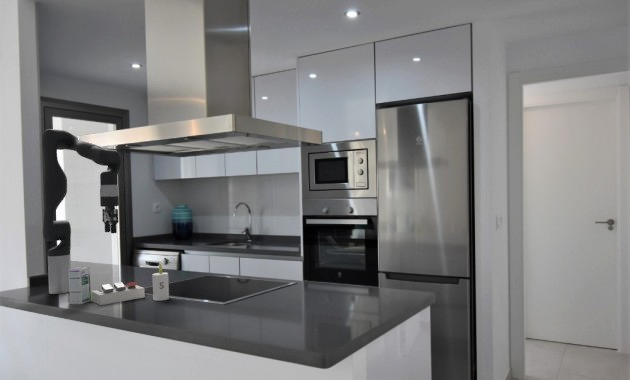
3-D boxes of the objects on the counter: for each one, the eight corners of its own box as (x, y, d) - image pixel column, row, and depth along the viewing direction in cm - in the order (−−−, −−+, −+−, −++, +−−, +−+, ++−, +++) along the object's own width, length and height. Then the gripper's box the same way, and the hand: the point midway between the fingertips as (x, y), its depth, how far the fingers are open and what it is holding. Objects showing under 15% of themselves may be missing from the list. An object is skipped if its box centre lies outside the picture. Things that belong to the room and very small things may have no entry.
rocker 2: (113, 286, 200) (113, 283, 200) (121, 285, 203) (121, 281, 202) (117, 290, 197) (118, 287, 197) (125, 289, 199) (125, 286, 199)
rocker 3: (126, 287, 204) (125, 284, 204) (133, 286, 206) (133, 283, 206) (130, 286, 200) (129, 282, 200) (137, 284, 202) (137, 281, 202)
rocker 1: (101, 288, 197) (101, 285, 197) (109, 287, 199) (109, 283, 199) (105, 293, 194) (105, 289, 193) (113, 291, 196) (113, 288, 195)
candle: (154, 301, 194) (153, 264, 194) (152, 298, 200) (151, 262, 200) (170, 299, 197) (168, 263, 197) (167, 296, 203) (166, 261, 203)
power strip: (91, 300, 200) (90, 289, 200) (147, 291, 216) (146, 280, 216) (100, 305, 191) (100, 293, 191) (158, 294, 207) (157, 284, 207)
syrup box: (82, 304, 193) (80, 268, 193) (69, 304, 195) (68, 268, 195) (91, 301, 199) (90, 266, 199) (78, 301, 200) (77, 266, 200)
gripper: (95, 195, 209) (96, 232, 210) (105, 195, 199) (106, 234, 199) (113, 195, 214) (114, 231, 214) (123, 195, 203) (124, 232, 203)
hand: (110, 232), depth 207 cm, fingers open, 8 cm apart
